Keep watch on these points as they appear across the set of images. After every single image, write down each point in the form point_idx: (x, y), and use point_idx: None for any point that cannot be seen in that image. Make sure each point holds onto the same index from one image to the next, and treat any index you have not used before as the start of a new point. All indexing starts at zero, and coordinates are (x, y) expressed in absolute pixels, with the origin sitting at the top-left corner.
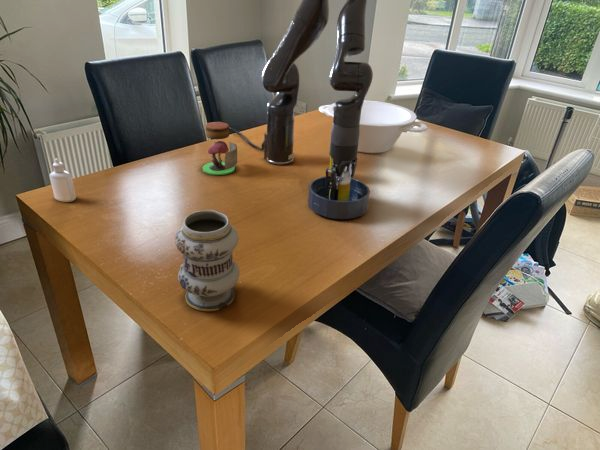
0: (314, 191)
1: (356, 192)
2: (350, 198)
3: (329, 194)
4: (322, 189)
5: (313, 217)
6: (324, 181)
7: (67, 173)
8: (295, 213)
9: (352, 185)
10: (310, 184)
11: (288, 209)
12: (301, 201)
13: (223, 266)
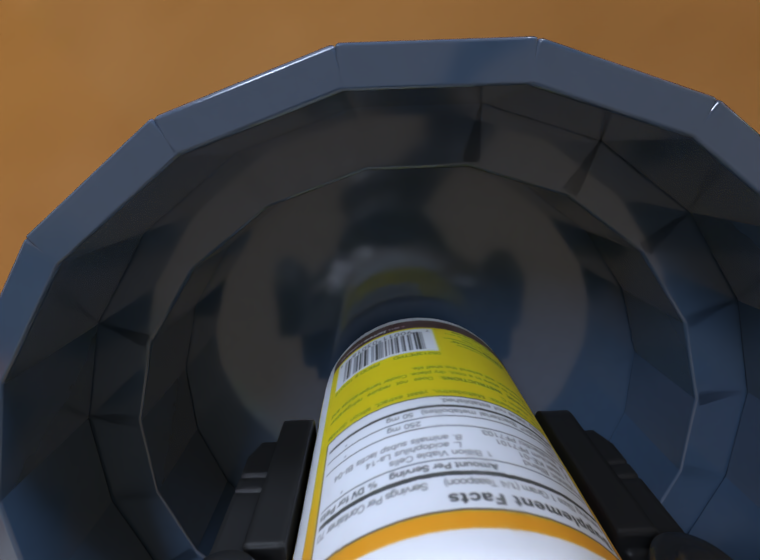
0: (331, 158)
1: None
2: (593, 411)
3: (362, 377)
4: (503, 177)
5: None
6: (643, 144)
7: None
8: (10, 159)
9: (754, 456)
10: (202, 121)
11: (4, 42)
12: (259, 36)
13: None
